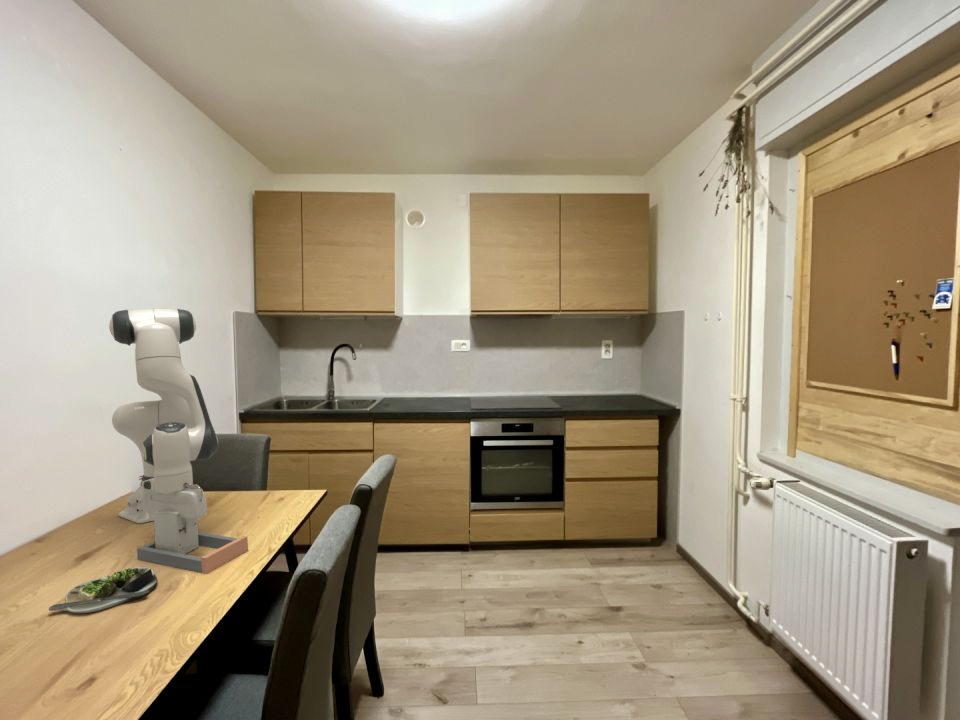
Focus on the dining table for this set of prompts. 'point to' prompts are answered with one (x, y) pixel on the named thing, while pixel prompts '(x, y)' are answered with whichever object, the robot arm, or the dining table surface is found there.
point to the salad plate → (109, 590)
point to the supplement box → (174, 532)
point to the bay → (205, 564)
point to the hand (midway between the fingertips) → (176, 530)
